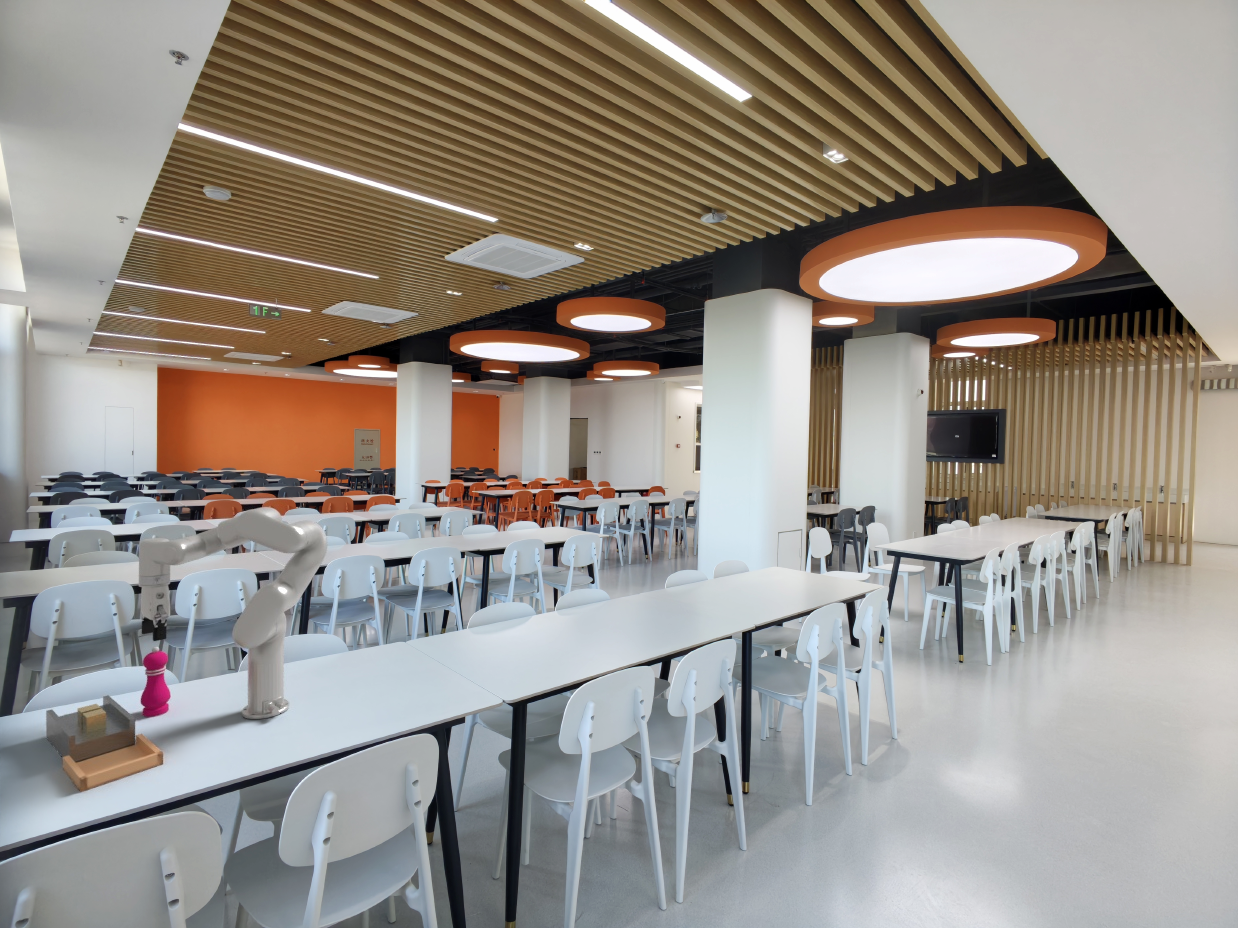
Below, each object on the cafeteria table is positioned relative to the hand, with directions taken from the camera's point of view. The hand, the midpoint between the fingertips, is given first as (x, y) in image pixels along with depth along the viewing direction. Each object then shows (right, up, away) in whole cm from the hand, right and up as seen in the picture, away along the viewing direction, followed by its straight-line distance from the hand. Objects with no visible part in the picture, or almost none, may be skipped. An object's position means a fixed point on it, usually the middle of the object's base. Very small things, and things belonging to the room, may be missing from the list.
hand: (153, 636), depth 183 cm
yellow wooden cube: (0, -19, -20) cm, 28 cm away
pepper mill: (0, -23, +1) cm, 23 cm away
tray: (+13, -24, -30) cm, 41 cm away
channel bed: (-4, -24, -18) cm, 30 cm away
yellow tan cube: (-4, -19, -17) cm, 26 cm away
